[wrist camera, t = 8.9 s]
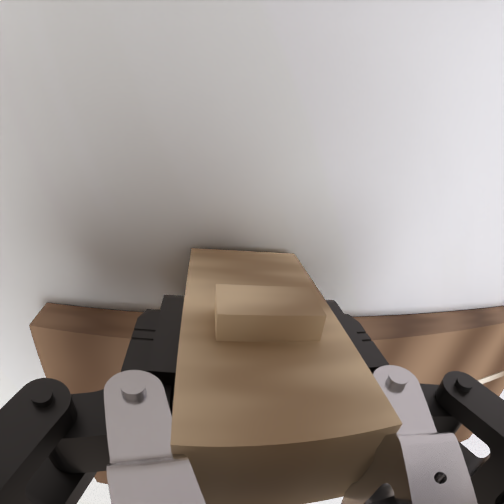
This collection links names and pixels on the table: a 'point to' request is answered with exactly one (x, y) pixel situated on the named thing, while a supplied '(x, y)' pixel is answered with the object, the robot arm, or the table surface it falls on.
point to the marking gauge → (270, 385)
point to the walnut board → (377, 327)
